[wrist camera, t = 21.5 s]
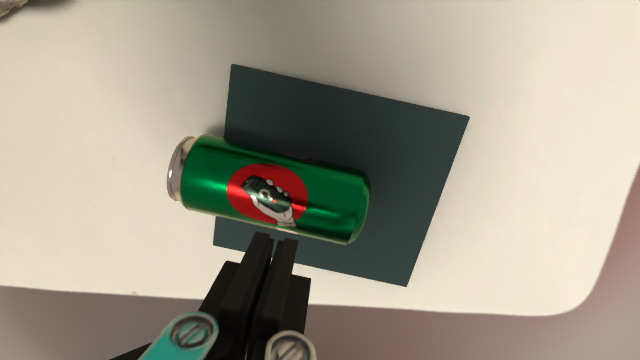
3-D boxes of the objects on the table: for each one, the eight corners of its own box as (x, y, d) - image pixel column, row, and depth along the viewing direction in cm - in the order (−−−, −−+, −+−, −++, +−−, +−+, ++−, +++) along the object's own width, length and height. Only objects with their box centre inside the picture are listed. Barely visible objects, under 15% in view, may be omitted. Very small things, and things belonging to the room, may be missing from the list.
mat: (233, 64, 21) (230, 64, 21) (467, 116, 21) (470, 117, 21) (214, 242, 26) (212, 245, 26) (405, 284, 26) (406, 287, 26)
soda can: (376, 157, 20) (189, 113, 20) (367, 232, 18) (153, 183, 18) (358, 192, 25) (204, 157, 24) (348, 256, 22) (177, 217, 22)
